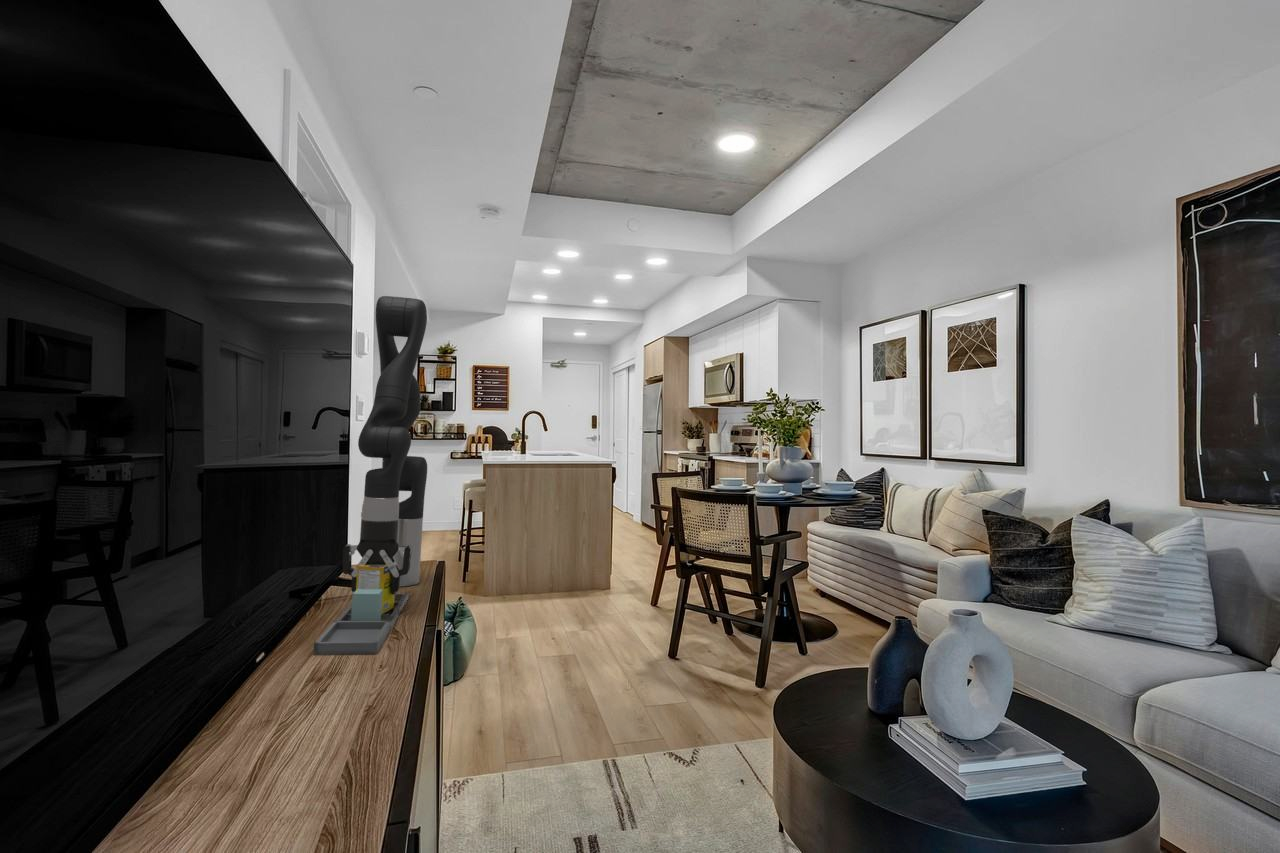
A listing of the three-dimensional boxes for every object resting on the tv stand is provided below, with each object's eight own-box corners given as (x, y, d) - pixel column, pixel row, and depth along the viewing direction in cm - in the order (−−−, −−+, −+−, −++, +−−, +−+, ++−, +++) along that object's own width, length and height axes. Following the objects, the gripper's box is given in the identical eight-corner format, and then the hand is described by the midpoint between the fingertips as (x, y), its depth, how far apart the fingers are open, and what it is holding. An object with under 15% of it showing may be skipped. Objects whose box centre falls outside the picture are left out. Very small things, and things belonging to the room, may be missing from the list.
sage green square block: (355, 623, 131) (357, 588, 132) (380, 622, 132) (382, 589, 133) (350, 628, 128) (352, 593, 128) (376, 628, 129) (379, 593, 129)
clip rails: (360, 599, 149) (361, 592, 150) (408, 599, 152) (408, 592, 152) (332, 631, 125) (333, 623, 125) (389, 631, 127) (390, 623, 127)
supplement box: (393, 611, 141) (397, 561, 141) (380, 618, 135) (383, 567, 135) (368, 609, 142) (371, 559, 142) (353, 616, 136) (357, 565, 136)
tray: (333, 631, 125) (334, 621, 125) (389, 630, 127) (390, 620, 127) (313, 654, 112) (314, 643, 112) (376, 653, 114) (377, 642, 114)
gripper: (417, 516, 144) (412, 589, 144) (349, 514, 141) (343, 589, 141) (412, 520, 137) (407, 598, 136) (340, 518, 134) (335, 598, 133)
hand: (375, 593), depth 138 cm, fingers closed on supplement box, 7 cm apart
